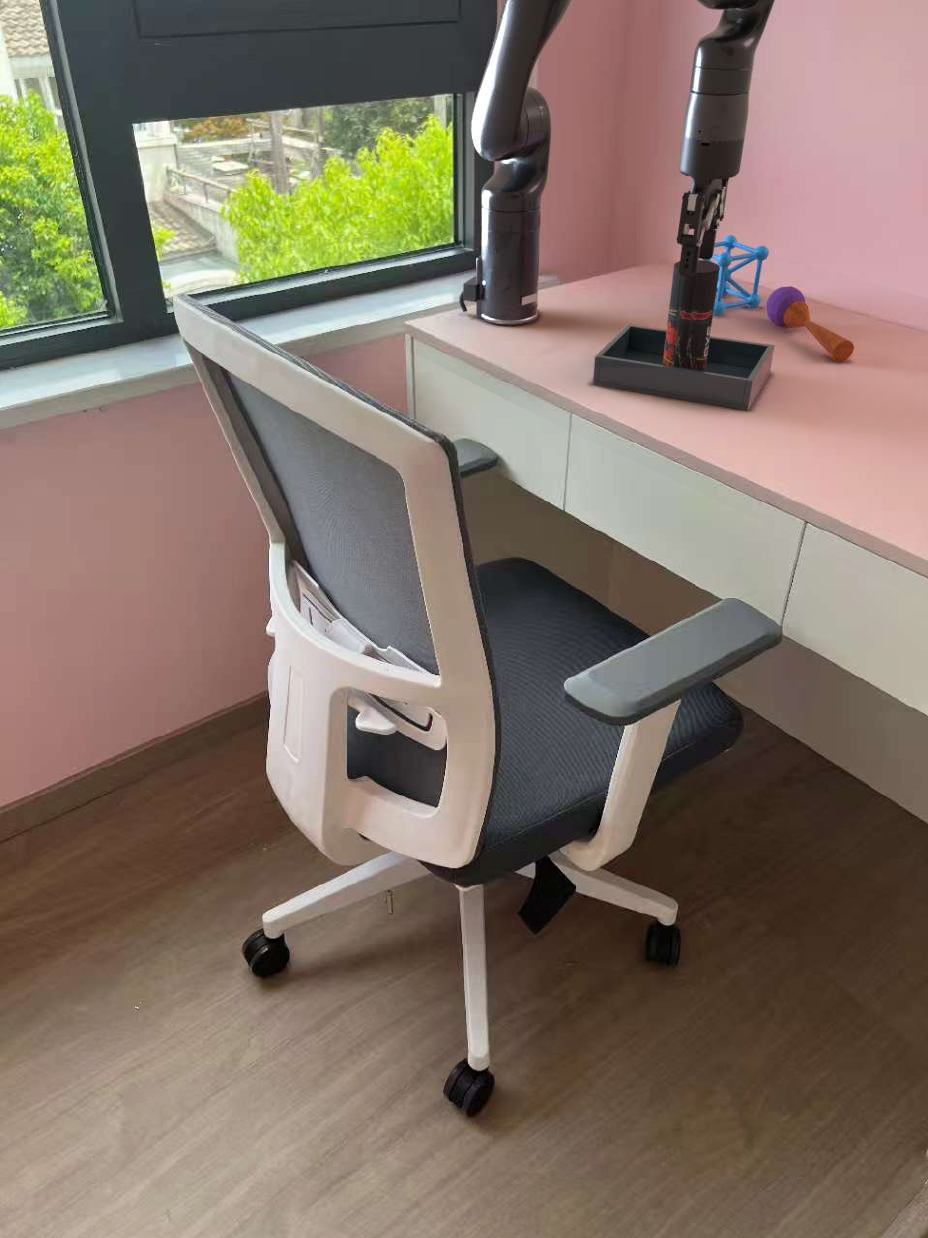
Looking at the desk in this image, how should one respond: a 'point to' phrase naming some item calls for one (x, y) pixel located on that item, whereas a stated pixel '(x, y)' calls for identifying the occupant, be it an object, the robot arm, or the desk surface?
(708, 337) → the deodorant
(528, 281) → the robot arm
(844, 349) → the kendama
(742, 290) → the molecular structure
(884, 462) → the desk surface
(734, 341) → the dark grey tray
